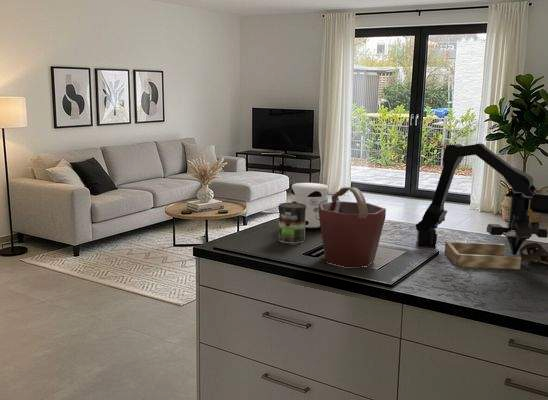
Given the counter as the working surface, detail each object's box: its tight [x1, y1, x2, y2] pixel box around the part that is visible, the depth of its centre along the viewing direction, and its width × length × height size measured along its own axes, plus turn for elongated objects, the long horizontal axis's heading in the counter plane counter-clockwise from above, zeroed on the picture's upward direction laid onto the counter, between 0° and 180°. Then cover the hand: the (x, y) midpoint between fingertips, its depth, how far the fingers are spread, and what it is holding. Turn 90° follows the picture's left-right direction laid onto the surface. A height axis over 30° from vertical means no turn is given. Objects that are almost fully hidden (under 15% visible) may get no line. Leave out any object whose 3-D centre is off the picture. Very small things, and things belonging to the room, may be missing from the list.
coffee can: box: [278, 202, 306, 244], centre depth 210 cm, size 10×10×14 cm
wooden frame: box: [444, 241, 522, 270], centre depth 191 cm, size 21×17×4 cm
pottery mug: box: [518, 242, 548, 264], centre depth 189 cm, size 12×10×8 cm
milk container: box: [290, 182, 329, 230], centre depth 232 cm, size 17×17×18 cm
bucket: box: [319, 186, 387, 267], centre depth 185 cm, size 24×22×25 cm
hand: (514, 254), depth 190 cm, fingers closed
